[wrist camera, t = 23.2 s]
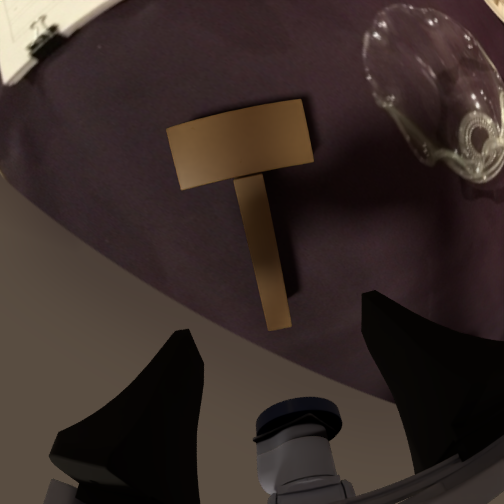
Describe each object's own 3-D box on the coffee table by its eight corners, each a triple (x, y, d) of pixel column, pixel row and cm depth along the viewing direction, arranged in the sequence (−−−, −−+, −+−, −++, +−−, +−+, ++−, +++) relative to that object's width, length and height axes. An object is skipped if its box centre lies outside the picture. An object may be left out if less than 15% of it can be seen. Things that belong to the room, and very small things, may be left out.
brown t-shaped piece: (227, 312, 22) (224, 339, 18) (177, 130, 17) (163, 127, 14) (323, 292, 21) (335, 316, 18) (292, 105, 16) (302, 96, 13)
